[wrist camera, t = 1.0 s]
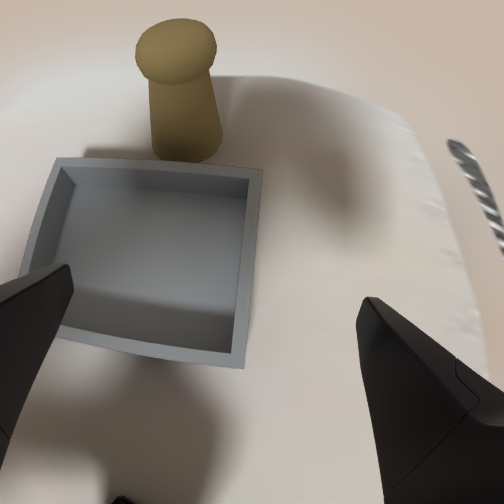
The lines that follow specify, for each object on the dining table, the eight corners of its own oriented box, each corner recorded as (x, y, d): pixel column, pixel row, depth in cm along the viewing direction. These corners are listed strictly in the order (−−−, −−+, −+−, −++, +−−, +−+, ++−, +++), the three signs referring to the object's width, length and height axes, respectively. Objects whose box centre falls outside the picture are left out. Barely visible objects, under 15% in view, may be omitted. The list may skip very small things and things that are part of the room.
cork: (145, 122, 26) (120, 22, 16) (209, 103, 27) (207, 1, 17) (161, 174, 25) (130, 68, 14) (232, 152, 26) (238, 42, 15)
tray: (257, 194, 25) (262, 170, 21) (241, 367, 20) (244, 369, 17) (72, 180, 24) (56, 157, 21) (35, 329, 20) (9, 323, 17)
